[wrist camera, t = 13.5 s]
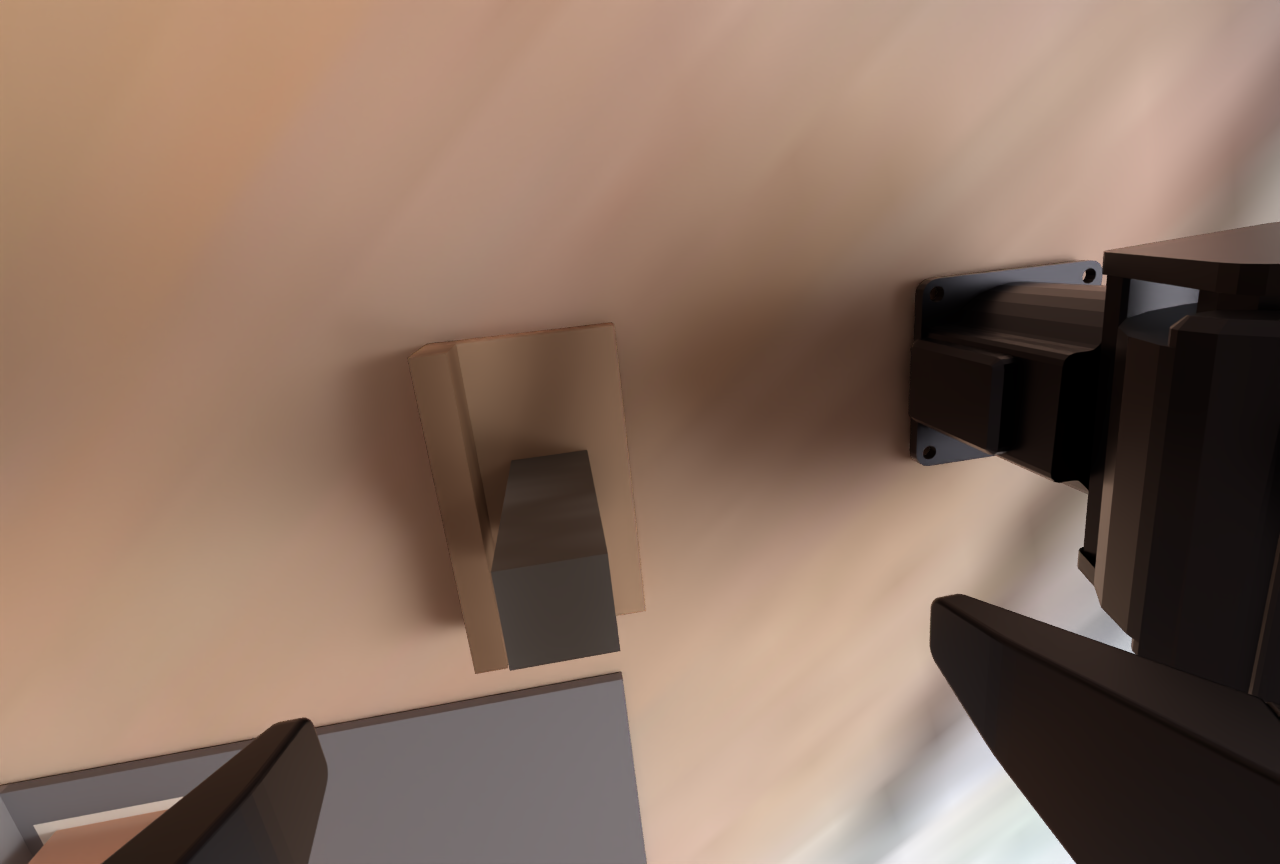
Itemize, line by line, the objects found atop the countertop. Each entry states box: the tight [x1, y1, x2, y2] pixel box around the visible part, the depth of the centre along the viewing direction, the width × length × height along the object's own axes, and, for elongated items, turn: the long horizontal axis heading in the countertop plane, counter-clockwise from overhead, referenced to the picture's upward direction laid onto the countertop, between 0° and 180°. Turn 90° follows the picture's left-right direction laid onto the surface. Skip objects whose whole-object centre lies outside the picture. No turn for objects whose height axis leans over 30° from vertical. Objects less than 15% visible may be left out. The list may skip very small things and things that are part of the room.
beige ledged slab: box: [407, 322, 646, 674], centre depth 16 cm, size 6×10×8 cm, turn 6°
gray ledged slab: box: [0, 672, 647, 864], centre depth 22 cm, size 22×10×2 cm, turn 96°
